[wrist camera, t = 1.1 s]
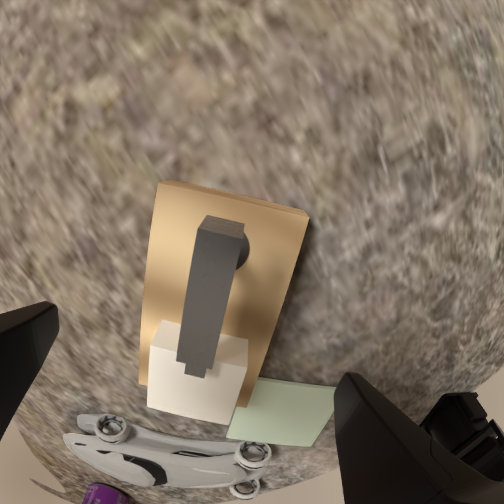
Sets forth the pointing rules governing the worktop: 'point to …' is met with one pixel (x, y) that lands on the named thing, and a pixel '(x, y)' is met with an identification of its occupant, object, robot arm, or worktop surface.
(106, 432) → the car model
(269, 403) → the pad
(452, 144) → the worktop surface
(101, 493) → the beverage can
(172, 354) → the cover
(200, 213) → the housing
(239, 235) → the lever handle
